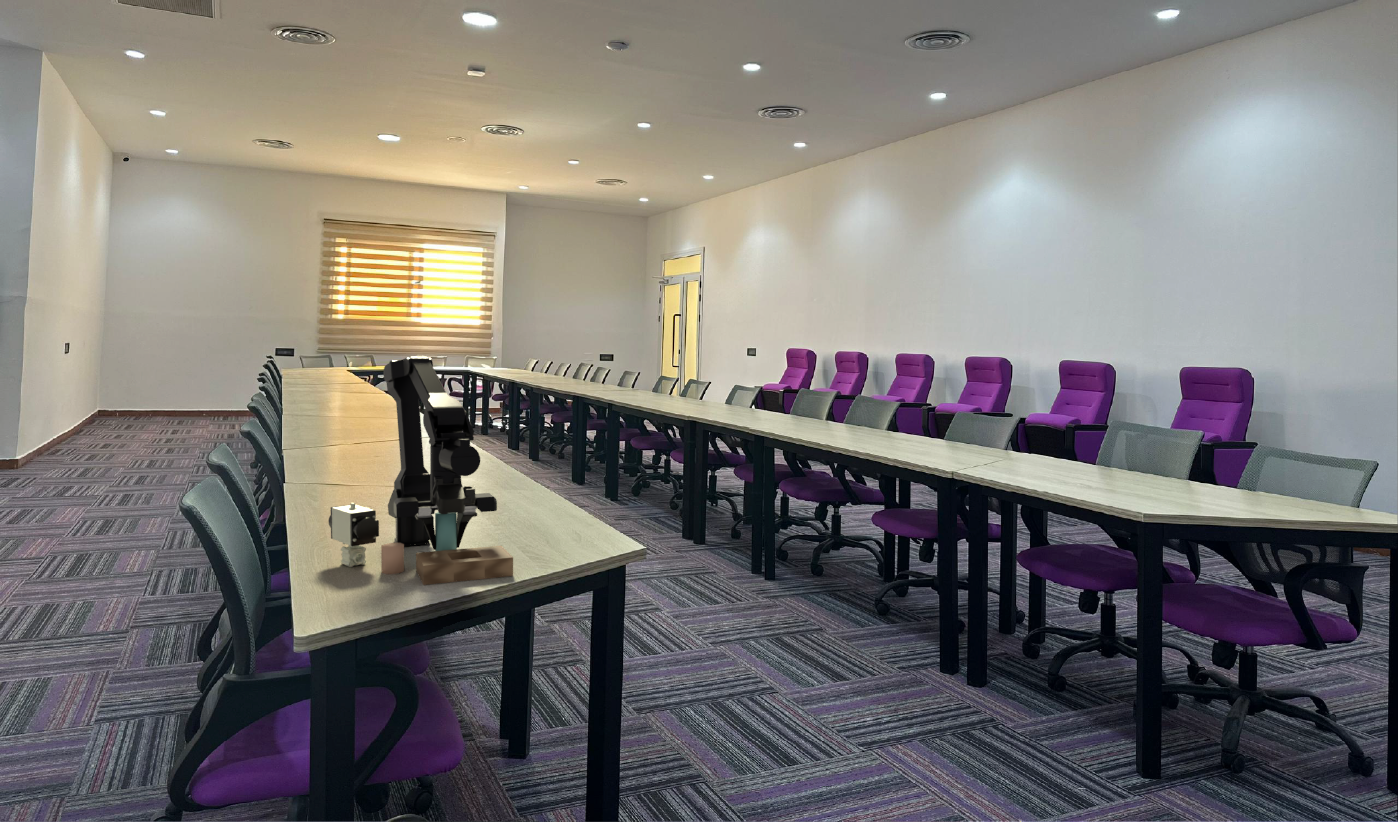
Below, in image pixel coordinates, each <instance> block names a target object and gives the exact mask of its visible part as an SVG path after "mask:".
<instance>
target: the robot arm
mask: <svg viewBox="0 0 1398 822" xmlns="http://www.w3.org/2000/svg"><path fill="white" fill-rule="evenodd" d="M383 380H384V382H385V383H386V388H387V392H388V394H389V395H390V396H391V397H392V399H393V400H394V401H395V405H396V415H397V418H396V419H397V430H398V432H397V433H398V445H399V446H398V447H399V457H400V459H399V460H400V471H399V473H398V475H397V477H396V478H395V480H394V483H393V490H392V493H391V496H390V497H389V498H390V499H389V501H388V502H387V511H388V515H389V516H391V517H392V518H394V519H395V538H394V539H393V540H394V543H402V544H404V547H412V546H413V547H414V546H421V545H423V546H424V545H430V544H431V546H432V549H433V551H434V550H436V538H435V520H434V519H435V517H434V515H435V513H436V511H437V512H439V513H440V514H447V513H457V549H460V548H459V547H460V545H461V542H462V539H463V536H464V534H465V531H466V529H467V526H468V524H469V522H470V521H471V519H472V518H475V517H478V512H477V511H476V510H478V511H479V512H481V513H486V512H487V513H488V512H497V511H498V502H497V501H498V500H497V498H496V497H494V496H493V494H492V493H490V492H485V493H476V488H475V487H476V486H475V485H464V486H463V483H462V477H468V476H470V475H473V474H474V473H476V472H477V470H478V469H479V467H480V465H481V456H480V453H479V451H478V449H476V448H475V447H474V446H472V445H471V441H474V439H475V438H474V434H475V431H474V427H473V425H472V423H471V420H470V418H469V416H468V413H467V411H466V410H465V408H464V406H463V405H462V403H460V401H459V400H458V399H457V398H455V397H453V396H450V395H448V393H447V391H446V389H445V387H444V385H443V384H442V382H441V380H440V379H439V376H438V374H437V372H436V370H435V369H434V363H433V359H432V358H431V357H429V356H408V357H405V358H403V359H399V360H393V359H392V360H389V363H387V364H386V365H385V366H384V367H383ZM420 400H421V402H422V404H423V406H424V412H423V415H422V416H423V418H422V419H421V409H420V408H421V407H420ZM422 420H423V421H422ZM421 421H422V423H423V427H424V430H425V432H426V434H427V436H428V438H429V440H428V444H429V446H430V448H429V451H430V452H429V453H430V455H429V456H430V457H429V458H430V461H429V462H430V467H429V468H430V471H429V472H430V473H429V472H428V470H427V469H426V468H425V462H424V461H425V460H424V449H423V437H422V436H423V435H422V423H421Z"/></svg>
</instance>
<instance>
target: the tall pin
mask: <svg viewBox="0 0 1398 822" xmlns="http://www.w3.org/2000/svg"><path fill="white" fill-rule="evenodd" d="M434 516H435V517H434V519H435V520H434V530H435V538H436V550H435V551H443V550H455V549H458V548H457V512H456V513H447V514H440V513H439V512H438V511H437V512H435V513H434Z"/></svg>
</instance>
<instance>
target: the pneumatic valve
mask: <svg viewBox="0 0 1398 822" xmlns="http://www.w3.org/2000/svg"><path fill="white" fill-rule="evenodd" d="M376 513H377V512H376V510H374V509H372V508H371V507H368V506H365V507H364V506H362V505H358V504H356V503H355V502H350V504H345V505H344V504H343V505H339V506H338V505H337V506H331V507H330V515H329V518H328V526H329V527H330V539H332V540H334V541H337V542H340V543H342V545H344V546H342V547H341V548H340V551H341V560H340V563H341V565H344V566H346V567H349V568H352V567H354V566H359V565H362V566H364V565H366V562H367V561H366V550H367V548H366V547H364V546H363V545H369V544H374V543H377V537H380V520H378V519H377V517H376V516H377V515H376ZM345 545H348V546H345Z"/></svg>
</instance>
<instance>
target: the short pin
mask: <svg viewBox="0 0 1398 822" xmlns="http://www.w3.org/2000/svg"><path fill="white" fill-rule="evenodd" d="M380 547H381V548H380V554H381V555H380V558H381V561H380V562H381V571H380V573H381V574H383V575H396V574H397V575H398V574H403V573H404V572H405V546H404V544H402V543H395V542H388V543H387V542H386V543H383V544H381V546H380Z"/></svg>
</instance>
